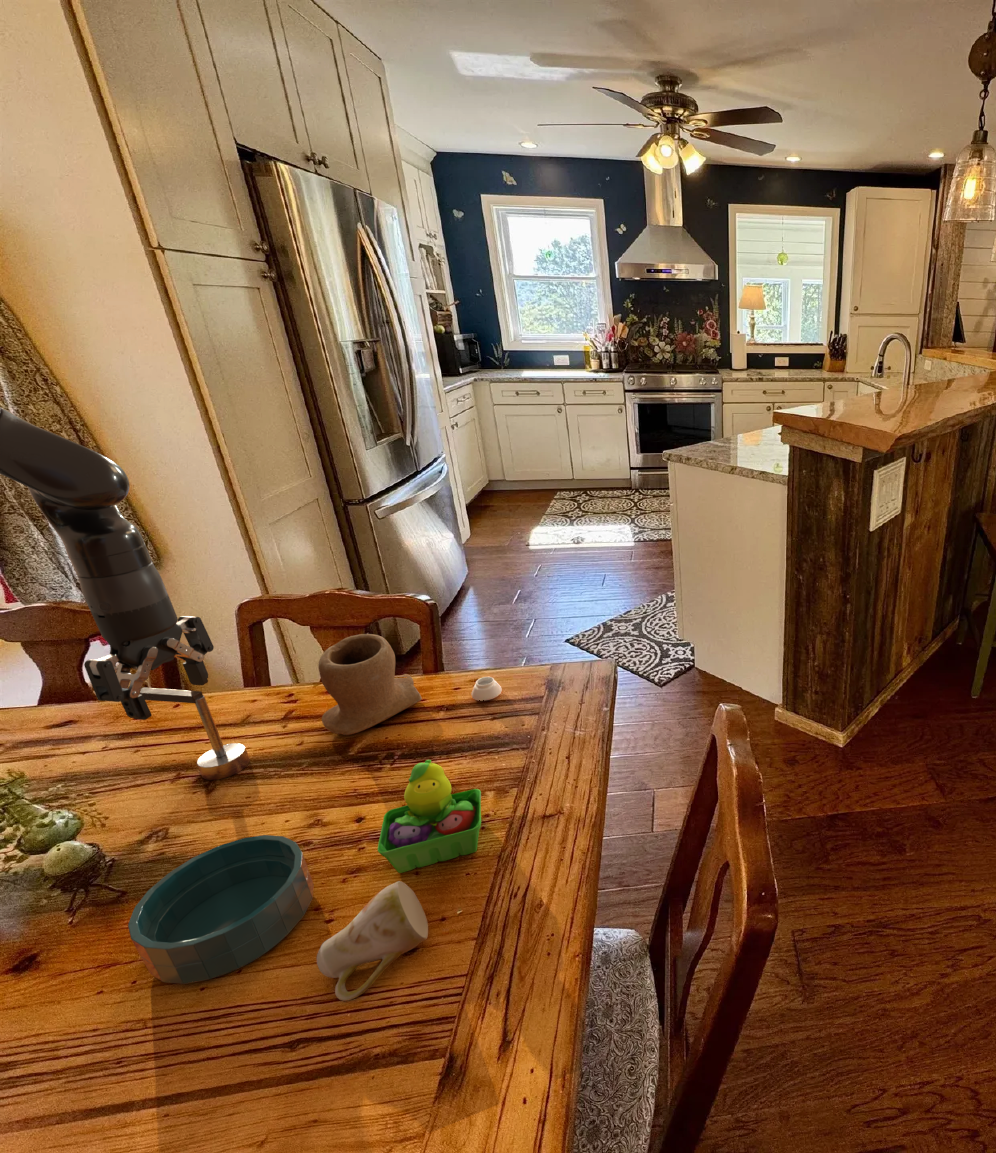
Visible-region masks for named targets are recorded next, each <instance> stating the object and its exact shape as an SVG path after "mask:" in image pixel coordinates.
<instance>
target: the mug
mask: <svg viewBox="0 0 996 1153" xmlns="http://www.w3.org/2000/svg"><path fill="white" fill-rule="evenodd" d="M428 935H429V923H428V919H427V916H426V913H425V911H424V908H423V906H422V904H421V902H420V901H419V898H418V896H417V895H416V893H415V892H414V890H413V889H412V888H411V887H410V886H408V885H407V884H406V883H405V882H403V881H402V880H398V881H396V882H394V883H392V884H391V883H390V884H388V885H387V886H386V887H384V888H382V889H381V890H379V891H378V892H377V893H376V894H375V895H374V896H373V897H372V898H371V899H370V900H369V901H368V902H367V903H366V904H365V905H364V906H363V908H362V909H361V910H360V911H359V912H358V914H357V915H356V916H355V917H354V918H353V919H352V920H351V921H350V922H349V923H348V924H347V925H346V926H345V927H344V928H342V929H341V930H339V931H338V932H337V933H335V934H334V935H332V936H331V937H329V938H328V939H326V940H325V941H323V942H322V944H321V945H320V947H319V950H318V952H317V954H316V965H317V968H318V970H319V972H320V973H321V974H322V975H323V976H324V977H327V978H331V979H338V980H337V983H336V984H335V987H334V995H335V997H336V998H337V999H338V1000H339V1001H342V1002H346V1001H351V1000H354V999H356V998H358V997H359V996H361V995H362V994H364V993H365V992H367V990H368V989H370V988H371V987H372V985H373V984H374V983H375V982H376V981H377V980H378V978H379V977H380V976H381V975H382V974H383V972H384V971H385V970H386V969H387V968H388V967H389V966H391V964H392V963H394V962H395V961H397V959H398V958H399V957H400V956H401V955H403V954H405V953H407V952H409V951H411V950H413V949H415V948H416V947H417V946H419V945H420V944H421V943H423V942H424V941H426V940H427V939H428ZM380 960H381V962H380V963H379V964H378V966H377V967H376V968H375V969H374V971H373V973H372V974H371V975H370V976H369V977H368V979H366V980H365V982H364V983H363V984H362V985H361V986H359V987H358V988H356V989H354V990H351V991H348V990H347V988H346V982H347V979H348V978H350V976H351V975H353V973H354V972H355V971H356V969H357V968H358V967H360V966H362V965H365V964H367V963H371V962H375V961H376V962H377V961H380Z"/></svg>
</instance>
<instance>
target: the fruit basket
mask: <svg viewBox="0 0 996 1153" xmlns="http://www.w3.org/2000/svg"><path fill="white" fill-rule="evenodd" d="M403 799H404V801H405V803H406V805H403V806H399V807H396V808H391V809H390V810H388V811H387V812H385V813H384V815H383V820H382V823H381V829H380V833H379V834H380V835H379V839H378V843H377V852H378V854H380V856H382V857H383V858H385V859H386V860H387V861H388V862H389V864H390V865H391V866H392V868H394V869H395V870H396V872H397V873H399V874H402V873H403V874H404V873H405V872H410V871H413V870H415V869H416V868H423V867H427V866H431V865H434V864H436V863H438V862H446V861H450V860H452V859H456V858H458V857H460V856H466V855H467V856H468V855H471V854H475V853H476V852H477V851H478V846H479V845H478V844H479V837H480V836H479V835H480V829H481V826H482V791H481V789H478V788H473V789H469V790H464V791H460V792H455V793H452V784H451V782H450V780H449V778H448V777H447V776H446V773H445V771H444V768H443V767H442V766H441V765H439V764H437V763H435V762H432V760H431V759H426V760H425V761H424V762H418V763H417V764H415V765H414V766H413V768H412V769H411V771H410V777H409V778H408V784H407V786H406V787H405V790H404V793H403Z"/></svg>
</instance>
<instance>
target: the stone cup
mask: <svg viewBox="0 0 996 1153" xmlns="http://www.w3.org/2000/svg"><path fill="white" fill-rule="evenodd" d="M317 668H318V674H319V677H320V680H321V683H322V686H323V687H324V689H325V690H326V692H327V693H328V694H329V695H330V696H331V697H332V698H333V700H334V701H335V702H336V703H337V704H336V705H334V706H332V707H331V708H328V710H326V711H325V712H324V713H323V714H322V716H321V722H322V725H323V727H324V728H325V729H326V730H328V731H329V732H330V733H332V734H335V735H344V736H349V735H355V734H357V733H360V732H363V731H365V730H368V729H370V728H373V727H374V726H376V725H378V724H380V723H382V722H384V721H386V720H388V719H390V718H392V717H394V716H395V715H397V714H399V713H401V712H403V711H404V710H406V709H409V708H410V707H412V706H414V705H416V704H418V703H419V702H421V701H422V699H423V698H422V694H421V693H420V692H419V691H418V689H417V687H416V686H415V683H414V678H413V677H412V676H411V675H409V674H408V673H404V674H401V675H399V676H398V677H407V678H397V677H395V676H396V673H395V672H396V655H395V651H394V650H393V648H392V646H391V644H390V643H389V642H388V641H387V639H386V638H384V637H383V636H380V635H379V634H372V633H361V634H356V635H351V636H348V637H345V638H343V639H341V640H340V641H338V642H337V643H335V644H333V645H332V646H329V647H328V648H326V649H325V650H324V651H323V653H322V654H321V655H320V657H319V660H318V667H317Z"/></svg>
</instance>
